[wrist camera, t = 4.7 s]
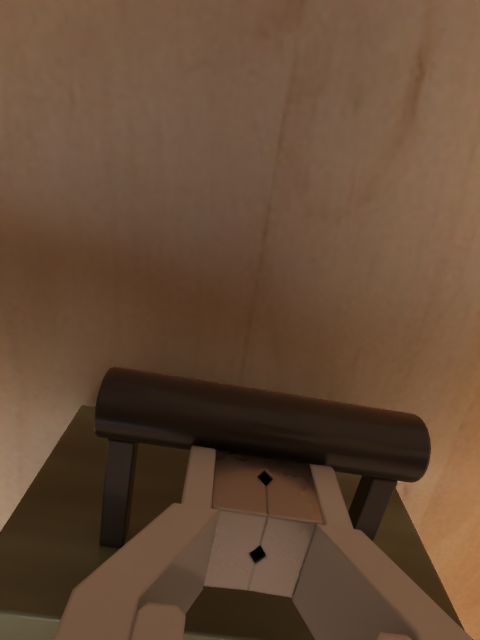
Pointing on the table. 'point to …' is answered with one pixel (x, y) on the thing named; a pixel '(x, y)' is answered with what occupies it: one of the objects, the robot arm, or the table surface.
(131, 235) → the table surface
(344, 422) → the drawer
